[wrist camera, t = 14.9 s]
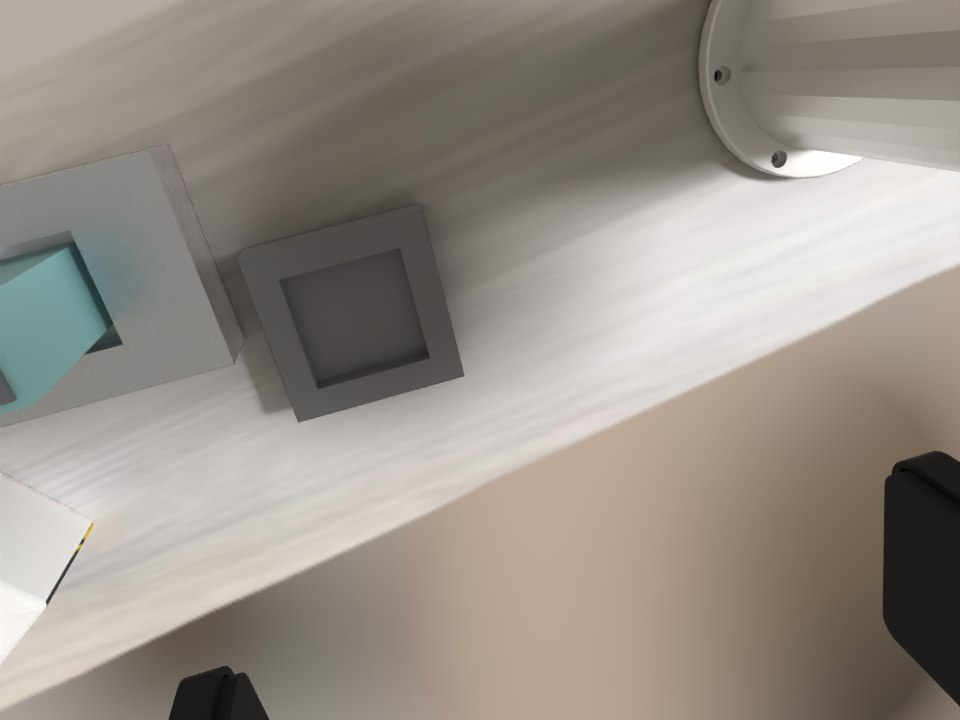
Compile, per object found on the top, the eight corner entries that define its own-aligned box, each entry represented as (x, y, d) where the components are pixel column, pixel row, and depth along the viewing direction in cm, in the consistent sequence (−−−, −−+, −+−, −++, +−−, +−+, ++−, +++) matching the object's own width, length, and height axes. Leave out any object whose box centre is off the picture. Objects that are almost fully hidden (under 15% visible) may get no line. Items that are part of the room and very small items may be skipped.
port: (168, 143, 32) (147, 151, 29) (244, 339, 36) (233, 365, 33) (-142, 220, 31) (-202, 237, 28) (-29, 412, 35) (-69, 447, 32)
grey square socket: (418, 203, 35) (421, 210, 33) (459, 362, 39) (464, 376, 37) (242, 249, 35) (236, 258, 33) (300, 406, 38) (298, 422, 36)
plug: (82, 238, 32) (-29, 303, 23) (119, 317, 34) (30, 408, 24) (-5, 261, 32) (-153, 336, 23) (36, 340, 33) (-85, 440, 24)
